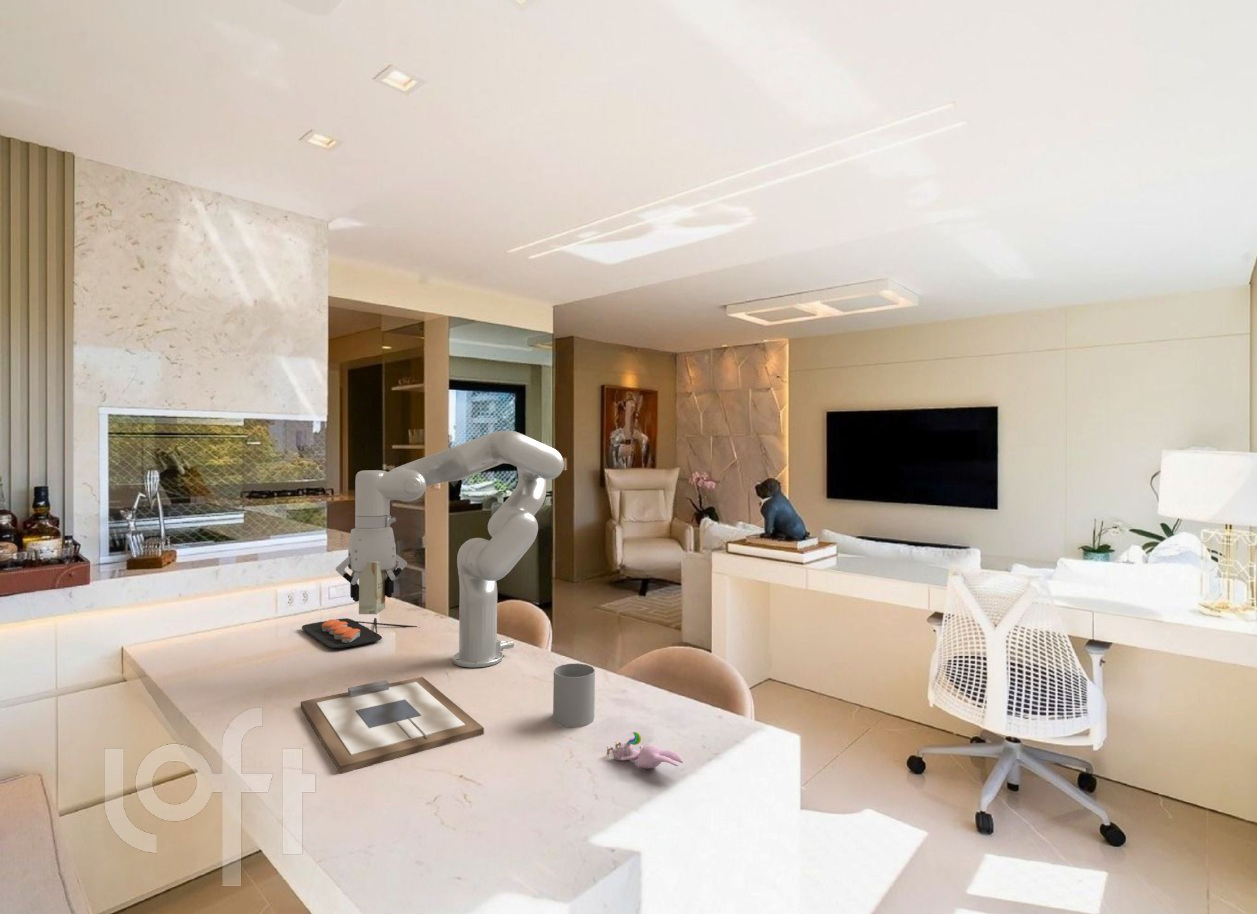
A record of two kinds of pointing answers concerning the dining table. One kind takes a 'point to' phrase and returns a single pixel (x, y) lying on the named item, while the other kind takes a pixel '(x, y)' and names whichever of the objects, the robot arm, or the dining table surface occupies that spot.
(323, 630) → the sushi plate
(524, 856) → the dining table surface
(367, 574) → the skincare box
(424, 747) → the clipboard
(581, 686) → the cup
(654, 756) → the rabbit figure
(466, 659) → the robot arm
